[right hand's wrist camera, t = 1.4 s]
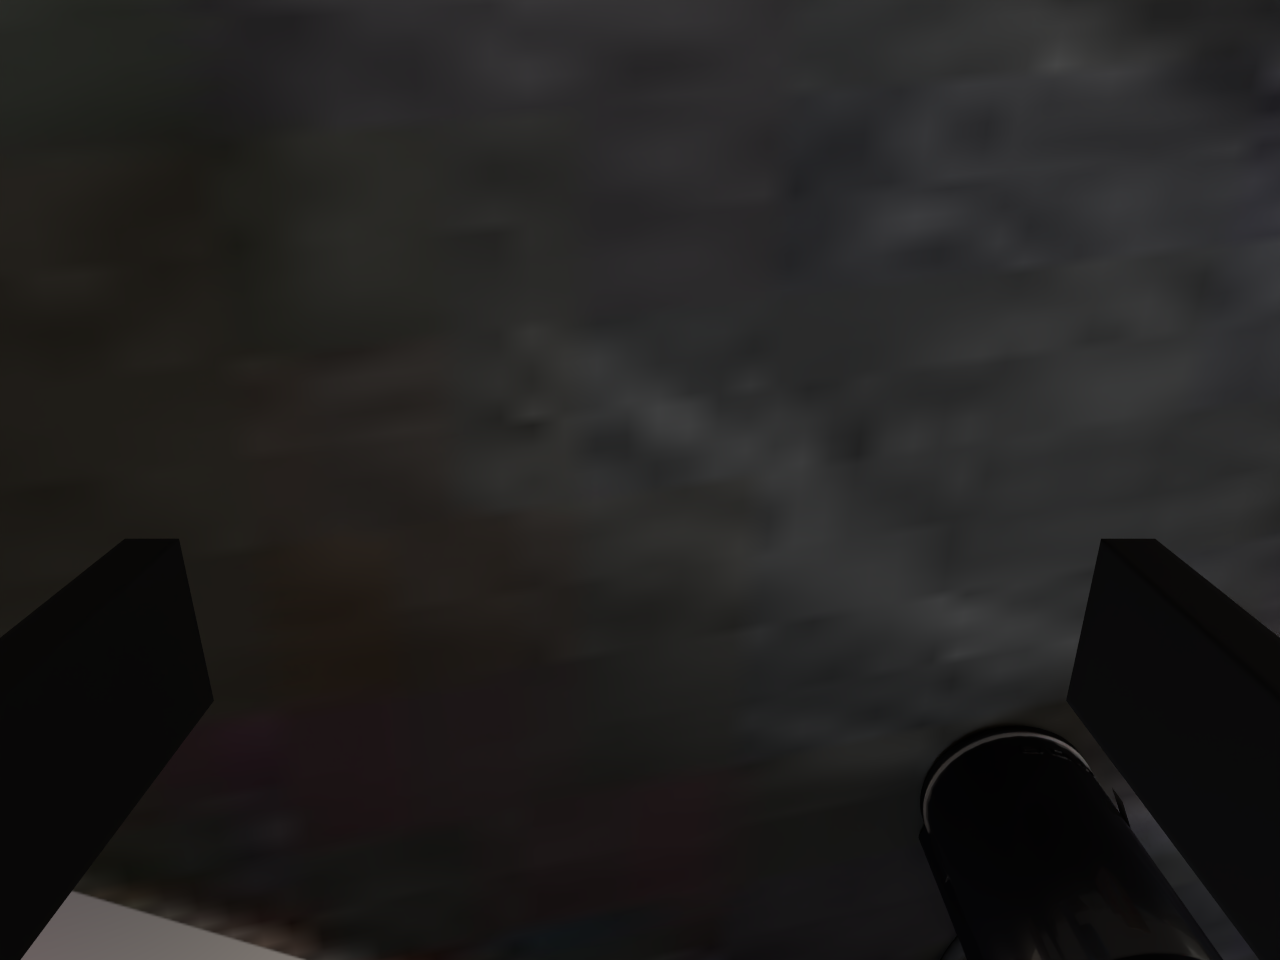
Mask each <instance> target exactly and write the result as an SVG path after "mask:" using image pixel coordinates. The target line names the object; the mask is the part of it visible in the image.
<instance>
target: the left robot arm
mask: <svg viewBox="0 0 1280 960" xmlns="http://www.w3.org/2000/svg"><path fill="white" fill-rule="evenodd" d="M1112 789H1113V788H1112ZM1113 792H1114V795H1115V799H1116V802H1117V805H1118V808H1119V811H1120V813H1119V811H1118V810H1117V809H1116V807H1115V806H1114V804H1113V803H1112V801H1111V800H1110V799H1109V797H1108V796H1107V794H1106V793H1105V792H1104V790H1103V789H1102V788H1101V786H1100V785H1099V783H1098V782H1097V780H1096V779H1095V778H1094V775H1093V773H1092V772H1091V769H1090V768H1089V766H1088V764H1087V763H1086V761H1085V760H1084V758H1083V757H1082V756H1081V754H1080V753H1079V752H1078V750H1077V749H1076V748H1075V747H1074V746H1073V745H1072V744H1071V743H1069V742H1068V741H1067V740H1065V739H1064V738H1062V737H1060V736H1058V735H1056V734H1054V733H1052V732H1049V731H1046V730H1043V729H1039V728H1034V727H1026V726H1010V727H1001V728H995V729H991V730H987V731H984V732H981V733H978V734H976V735H973V736H971V737H969V738H967V739H965V740H963V741H961V742H960V743H958V744H957V745H955V746H954V747H952V748H951V749H950V750H948V751H947V752H946V753H945V754H944V755H943V756H942V757H941V758H940V759H939V760H938V761H937V762H936V763H935V765H934V766H933V767H932V769H931V770H930V772H929V774H928V775H927V777H926V780H925V782H924V784H923V788H922V791H921V797H920V808H921V814H922V818H923V821H924V824H925V825H924V828H923V830H922V832H921V833H920V835H919V840H920V842H921V845H922V847H923V850H924V852H925V855H926V857H927V860H928V862H929V865H930V867H931V870H932V872H933V875H934V878H935V880H936V883H937V885H938V888H939V890H940V893H941V895H942V898H943V900H944V903H945V905H946V908H947V910H948V913H949V915H950V918H951V921H952V923H953V926H954V928H955V931H956V933H957V937H956V938H955V940H954V941H953V942H952V943H951V945H950V946H949V947H948V949H947V950H946V952H945V954H944V955H943V957H942V959H941V960H962V959H963V958H964V956H966V959H967V960H1223V959H1222V957H1221V956H1220V955H1219V953H1218V952H1217V950H1216V949H1215V947H1214V946H1213V945H1212V943H1211V942H1210V940H1209V939H1208V938H1207V936H1206V935H1205V933H1204V932H1203V930H1202V929H1201V928H1200V926H1199V925H1198V923H1197V922H1196V921H1195V919H1194V918H1193V916H1192V915H1191V913H1190V912H1189V911H1188V909H1187V908H1186V906H1185V905H1184V904H1183V902H1182V901H1181V899H1180V898H1179V896H1178V895H1177V894H1176V892H1175V891H1174V889H1173V888H1172V887H1171V885H1170V884H1169V882H1168V881H1167V879H1166V878H1165V877H1164V875H1163V874H1162V872H1161V871H1160V870H1159V868H1158V867H1157V865H1156V864H1155V862H1154V861H1153V860H1152V858H1151V857H1150V855H1149V854H1148V853H1147V851H1146V850H1145V848H1144V847H1143V845H1142V844H1141V843H1140V841H1139V840H1138V838H1137V837H1136V836H1135V834H1134V833H1133V831H1132V830H1131V828H1130V824H1129V821H1128V818H1127V815H1126V811H1125V808H1124V805H1123V802H1122V801H1121V799H1120V798H1119V796H1118V795H1117V794H1116V792H1115V791H1114V790H1113Z"/></svg>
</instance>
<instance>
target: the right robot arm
mask: <svg viewBox="0 0 1280 960" xmlns="http://www.w3.org/2000/svg"><path fill="white" fill-rule="evenodd" d="M213 701H214V700H213V695H212V690H211V686H210V681H209V676H208V672H207V667H206V663H205V658H204V653H203V649H202V644H201V639H200V635H199V630H198V626H197V621H196V616H195V612H194V607H193V602H192V598H191V593H190V589H189V584H188V579H187V575H186V570H185V565H184V561H183V556H182V551H181V547H180V542H179V539H124V540H123V541H122V542H120V543H119V544H118V545H117V546H115V547H114V548H113V549H112V550H110V551H109V552H108V553H106V554H105V555H104V556H103V557H101V558H100V559H99V560H98V561H96V562H95V563H94V564H93V565H91V566H90V567H89V568H88V569H86V570H85V571H84V572H83V573H81V574H80V575H79V576H78V577H76V578H75V579H74V580H73V581H71V582H70V583H69V584H68V585H66V586H65V587H64V588H62V589H61V590H60V591H59V592H57V593H56V594H55V595H54V596H52V597H51V598H50V599H49V600H47V601H46V602H45V603H44V604H42V605H41V606H40V607H39V608H37V609H36V610H35V611H34V612H32V613H31V614H30V615H29V616H27V617H26V618H25V619H24V620H22V621H21V622H20V623H18V624H17V625H16V626H15V627H13V628H12V629H11V630H10V631H8V632H7V633H6V634H5V635H3V636H2V637H1V638H0V960H21V958H22V957H23V956H24V954H25V953H26V952H27V950H28V949H29V948H30V946H31V945H32V944H33V942H34V941H35V940H36V938H37V937H38V936H39V934H40V933H41V932H42V930H43V929H44V928H45V926H46V925H47V923H48V922H49V921H50V919H51V918H52V917H53V915H54V914H55V913H56V911H57V910H58V909H59V907H60V906H61V905H62V903H63V902H64V901H65V899H66V898H67V897H68V895H69V894H70V893H71V891H72V890H73V889H74V887H75V886H76V885H77V883H78V882H79V881H80V879H81V878H82V877H83V875H84V874H85V873H86V871H87V870H88V869H89V867H90V866H91V865H92V863H93V862H94V860H95V859H96V858H97V856H98V855H99V854H100V852H101V851H102V850H103V848H104V847H105V846H106V844H107V843H108V842H109V840H110V839H111V838H112V836H113V835H114V834H115V832H116V831H117V830H118V828H119V827H120V826H121V824H122V823H123V822H124V820H125V819H126V818H127V816H128V815H129V814H130V812H131V811H132V810H133V808H134V807H135V806H136V804H137V803H138V802H139V800H140V799H141V797H142V796H143V795H144V793H145V792H146V791H147V789H148V788H149V787H150V785H151V784H152V783H153V781H154V780H155V779H156V777H157V776H158V775H159V773H160V772H161V771H162V769H163V768H164V767H165V765H166V764H167V763H168V761H169V760H170V759H171V757H172V756H173V755H174V753H175V752H176V751H177V749H178V748H179V747H180V745H181V744H182V743H183V741H184V740H185V738H186V737H187V736H188V734H189V733H190V732H191V730H192V729H193V728H194V726H195V725H196V724H197V722H198V721H199V720H200V718H201V717H202V716H203V714H204V713H205V712H206V710H207V709H208V708H209V706H210V705H211V704H212V702H213ZM1066 701H1067V702H1068V704H1069V705H1070V706H1071V708H1072V709H1073V710H1074V712H1075V713H1076V714H1077V716H1078V717H1079V718H1080V720H1081V721H1082V722H1083V724H1084V725H1085V726H1086V728H1087V729H1088V730H1089V732H1090V733H1091V734H1092V736H1093V737H1094V738H1095V740H1096V741H1097V743H1098V744H1099V745H1100V747H1101V748H1102V749H1103V751H1104V752H1105V753H1106V755H1107V756H1108V757H1109V759H1110V760H1111V761H1112V763H1113V764H1114V765H1115V767H1116V768H1117V769H1118V771H1119V772H1120V773H1121V775H1122V776H1123V777H1124V779H1125V780H1126V781H1127V783H1128V784H1129V785H1130V787H1131V788H1132V789H1133V791H1134V792H1135V793H1136V795H1137V796H1138V797H1139V799H1140V800H1141V802H1142V803H1143V804H1144V806H1145V807H1146V808H1147V810H1148V811H1149V812H1150V814H1151V815H1152V816H1153V818H1154V819H1155V820H1156V822H1157V823H1158V824H1159V826H1160V827H1161V828H1162V830H1163V831H1164V832H1165V834H1166V835H1167V836H1168V838H1169V839H1170V840H1171V842H1172V843H1173V844H1174V846H1175V847H1176V848H1177V850H1178V851H1179V852H1180V854H1181V855H1182V856H1183V858H1184V859H1185V860H1186V862H1187V863H1188V865H1189V866H1190V867H1191V869H1192V870H1193V871H1194V873H1195V874H1196V875H1197V877H1198V878H1199V879H1200V881H1201V882H1202V883H1203V885H1204V886H1205V887H1206V889H1207V890H1208V891H1209V893H1210V894H1211V895H1212V897H1213V898H1214V899H1215V901H1216V902H1217V903H1218V905H1219V906H1220V907H1221V909H1222V910H1223V911H1224V913H1225V914H1226V915H1227V917H1228V918H1229V919H1230V921H1231V922H1232V923H1233V925H1234V926H1235V928H1236V929H1237V930H1238V932H1239V933H1240V934H1241V936H1242V937H1243V938H1244V940H1245V941H1246V942H1247V944H1248V945H1249V946H1250V948H1251V949H1252V950H1253V952H1254V953H1255V954H1256V956H1257V957H1258V958H1259V960H1280V638H1279V637H1278V636H1277V635H1275V634H1274V633H1273V632H1272V631H1270V630H1269V629H1268V628H1267V627H1265V626H1264V625H1263V624H1262V623H1260V622H1259V621H1258V620H1256V619H1255V618H1254V617H1253V616H1251V615H1250V614H1249V613H1248V612H1246V611H1245V610H1244V609H1243V608H1241V607H1240V606H1239V605H1238V604H1236V603H1235V602H1234V601H1233V600H1231V599H1230V598H1229V597H1228V596H1226V595H1225V594H1224V593H1223V592H1221V591H1220V590H1219V589H1218V588H1216V587H1215V586H1214V585H1212V584H1211V583H1210V582H1209V581H1207V580H1206V579H1205V578H1204V577H1202V576H1201V575H1200V574H1199V573H1197V572H1196V571H1195V570H1194V569H1192V568H1191V567H1190V566H1189V565H1187V564H1186V563H1185V562H1184V561H1182V560H1181V559H1180V558H1179V557H1177V556H1176V555H1175V554H1174V553H1172V552H1171V551H1170V550H1168V549H1167V548H1166V547H1165V546H1163V545H1162V544H1161V543H1160V542H1158V541H1157V540H1156V539H1101V542H1100V547H1099V552H1098V556H1097V561H1096V565H1095V570H1094V575H1093V579H1092V584H1091V589H1090V593H1089V598H1088V602H1087V607H1086V612H1085V616H1084V621H1083V626H1082V630H1081V635H1080V639H1079V644H1078V649H1077V653H1076V658H1075V663H1074V667H1073V672H1072V676H1071V681H1070V686H1069V690H1068V695H1067V700H1066Z"/></svg>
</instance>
